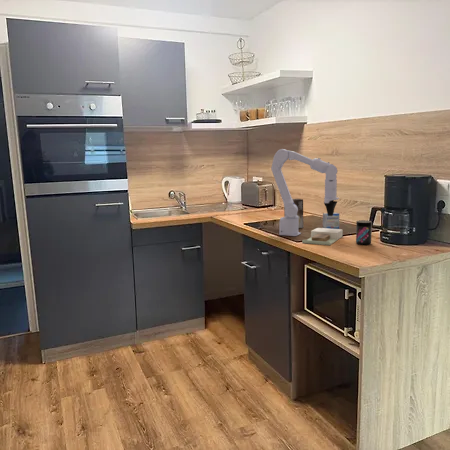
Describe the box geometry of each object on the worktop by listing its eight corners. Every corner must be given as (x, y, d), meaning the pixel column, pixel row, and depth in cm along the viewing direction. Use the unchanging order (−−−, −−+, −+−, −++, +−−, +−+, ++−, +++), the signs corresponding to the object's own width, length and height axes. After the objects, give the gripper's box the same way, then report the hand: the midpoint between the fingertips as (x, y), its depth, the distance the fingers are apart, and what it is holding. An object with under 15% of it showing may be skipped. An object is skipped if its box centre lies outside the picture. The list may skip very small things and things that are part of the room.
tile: (311, 241, 197) (311, 237, 197) (317, 237, 205) (317, 233, 204) (324, 242, 194) (324, 238, 194) (329, 238, 202) (329, 234, 201)
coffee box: (298, 226, 240) (298, 198, 237) (303, 227, 234) (303, 199, 231) (283, 227, 238) (283, 199, 235) (288, 229, 232) (288, 200, 229)
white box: (311, 238, 207) (311, 231, 206) (317, 234, 215) (317, 227, 214) (337, 240, 200) (337, 232, 200) (342, 236, 208) (342, 229, 208)
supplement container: (352, 243, 193) (353, 220, 191) (365, 241, 195) (366, 219, 193) (361, 246, 187) (362, 223, 185) (374, 244, 189) (375, 222, 187)
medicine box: (325, 229, 226) (326, 214, 225) (322, 228, 231) (322, 213, 229) (339, 229, 228) (339, 213, 226) (335, 227, 232) (336, 212, 231)
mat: (302, 243, 196) (302, 239, 196) (310, 238, 207) (310, 235, 206) (329, 245, 190) (329, 242, 189) (337, 240, 200) (337, 237, 200)
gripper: (334, 190, 200) (334, 218, 203) (342, 187, 213) (342, 214, 215) (320, 190, 204) (320, 217, 206) (328, 187, 216) (328, 213, 218)
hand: (330, 215), depth 211 cm, fingers closed
